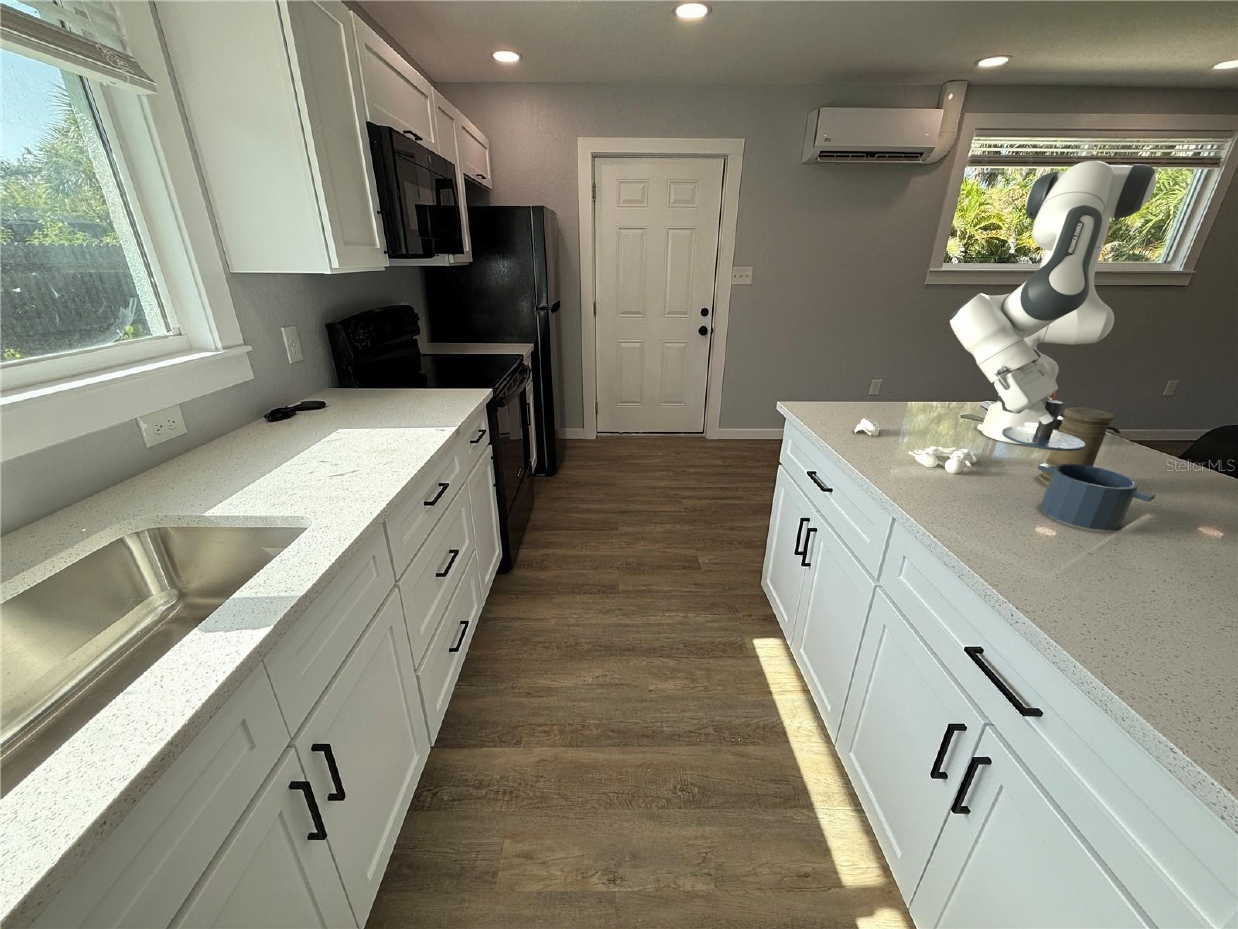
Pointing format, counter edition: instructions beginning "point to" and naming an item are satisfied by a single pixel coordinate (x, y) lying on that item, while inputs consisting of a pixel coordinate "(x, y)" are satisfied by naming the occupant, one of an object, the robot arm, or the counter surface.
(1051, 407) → the lid
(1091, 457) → the container
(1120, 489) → the pot
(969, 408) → the counter surface
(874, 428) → the white arched lump
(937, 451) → the tangled rod sculpture
